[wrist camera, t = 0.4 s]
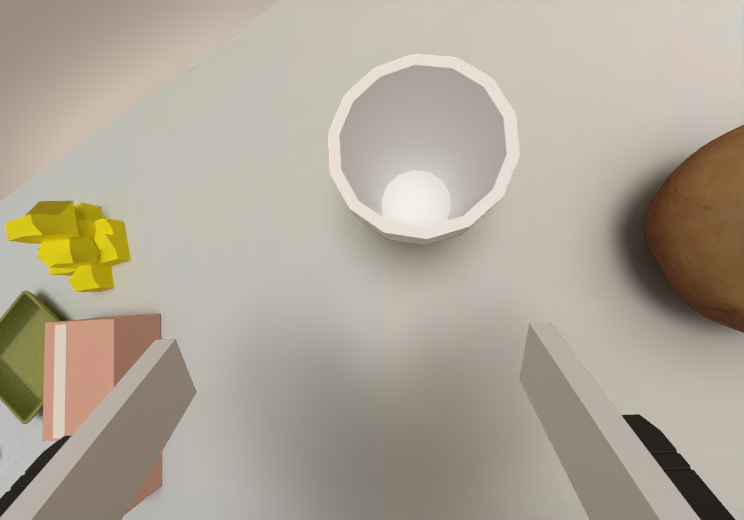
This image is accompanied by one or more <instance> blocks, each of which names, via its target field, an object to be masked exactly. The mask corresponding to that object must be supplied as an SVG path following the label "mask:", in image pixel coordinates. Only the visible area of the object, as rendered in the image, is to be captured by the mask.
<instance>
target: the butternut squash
mask: <svg viewBox="0 0 744 520" xmlns="http://www.w3.org/2000/svg"><path fill="white" fill-rule="evenodd" d="M645 233H646V241H647V246H648V249H649V251H650V252H651V253H652V254H653V256H654V257H655V259H656V260H657V262H658V264H659V265H660V267H661V269H662V270H663V272H664V274H665V275H666V277H667V279H668V280H669V282H670V284H671V285H672V287H673V289H674V290H675V292H676V293H677V294H678V295H679V296H680V297H681V298H682V299H683V300H684V301H685V302H687V303H688V304H689V305H690V306H691V307H692V308H693V309H695V310H696V311H697V312H699V313H700V314H702V315H703V316H705V317H707V318H709V319H711V320H713V321H716V322H718V323H720V324H723V325H725V326H727V327H730V328H732V329H735V330H738V331H741V332H744V125H742V126H740V127H738V128H736V129H734V130H732V131H730V132H728V133H726V134H724V135H722V136H720V137H718V138H716V139H714V140H712V141H711V142H709V143H708V144H706V145H704V146H703V147H701V148H700V149H699V150H697V151H696V152H695V153H694V154H692V155H691V156H690V157H689V158H687V159H686V160H685V161H684V162H683V163H682V164H680V165H679V166H678V167H677V168H676V170H675V171H674V172H673V173H672V174H671V175H670V176H669V177H668V178H667V180H666V181H665V183H664V184H663V186H662V187H661V189H660V190H659V192H658V193H657V194H656V195H655V196H654V198H653V200H652V202H651V204H650V208H649V211H648V213H647V217H646V220H645Z"/></svg>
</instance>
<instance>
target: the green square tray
mask: <svg viewBox="0 0 744 520" xmlns="http://www.w3.org/2000/svg"><path fill="white" fill-rule="evenodd" d="M60 321H61V320H60V319H59V318H58V317H57V316H56V315H55V314H54V313H53V312H52V311H51V310H50V309H49V308H48V307H47V306H46V305H45V304H44V303H43V302H42V301H41V300H40V299H39V298H37V297H36V296H35V295H33V294H32V293H30V292H29V291H23V292H22V293H21V294H20V295H19V296H18V297H17V299H16V300H15V301H14V302H13V304H12V305H11V306H10V307H9V309H8V310H7V311H6V312H5V314H4V315H3V316H2V317H1V319H0V399H1V401H2V402H3V403H4V404H5V405H6V406H7V407H8V408H9V409H10V410H11V412H12V413H13V414H14V415H15V416H16V417H17V418H18V419H19V420H20V421H21V422H22V423H23V424H27V423H29V422H30V421H31V420H32V419H33V418H34V417H35V415H36V414H37V413H38V412H39V411H40V410H41V408H42V407H43V393H44V349H45V323H49V322H60Z"/></svg>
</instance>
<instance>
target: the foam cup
mask: <svg viewBox="0 0 744 520" xmlns="http://www.w3.org/2000/svg"><path fill="white" fill-rule="evenodd" d="M328 144H329V166H330V174H331V176H332V178H333V180H334V182H335V183H336V185H337V187H338V189H339V191H340V192H341V194H342V196H343V198H344V200H345V202H346V203H347V205H348V207H349V209H350V210H351V211H352V213H353V214H354V215H355V217H356V218H357V219H359V220H360V221H361V222H363V223H364V224H366V225H367V226H369V227H370V228H372V229H373V230H375V231H376V232H377V233H379V234H380V235H382V236H383V237H385V238H386V239H389V240H395V241H402V242H408V243H415V244H421V245H427V244H430V243H434V242H437V241H441V240H444V239H447V238H451V237H454V236H457V235H461V234H463V233H464V232H465V231H466V230H468V229H469V228H470V227H471V226H472V225H473V224H474V223H475V222H477V221H478V220H479V219H480V218H481V217H482V216H483V215H484V214H485V213H487V212H488V211H489V210H490V209H491V208H492V207H493V206H494V205H495V204H496V203H497V202H498V201H499V200H500V199H501V198H502V197H503V196H504V194H505V191H506V189H507V186H508V184H509V181H510V179H511V176H512V174H513V171H514V169H515V166H516V164H517V162H518V159H519V157H520V153H519V142H518V132H517V121H516V113H515V112H514V110H513V108H512V107H511V105H510V104H509V102H508V101H507V99H506V98H505V96H504V95H503V93H502V92H501V90H500V89H499V87H498V85H497V84H496V82H495V81H494V79H493V78H491V77H490V76H488V75H486V74H485V73H483V72H481V71H479V70H478V69H476V68H474V67H473V66H471V65H469V64H467V63H466V62H464V61H462V60H461V59H459V58H457V57H449V56H437V55H426V54H411V55H409V56H406V57H403V58H400V59H397V60H394V61H391V62H388V63H385V64H382V65H380V66H377V67H374V68H373V69H372V70H371V71H370V72H369V73H368V74H367V75H366V76H364V77H363V78H362V79H361V80H360V81H359V82H358V83H357V84H356V85H355V86H354V87H353V88H351V89H350V90H349V91H348V92H347V93H346V94H345V95H344V96H343V99H342V101H341V103H340V106H339V108H338V111H337V113H336V115H335V118H334V120H333V122H332V125H331V127H330V129H329V132H328Z"/></svg>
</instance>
